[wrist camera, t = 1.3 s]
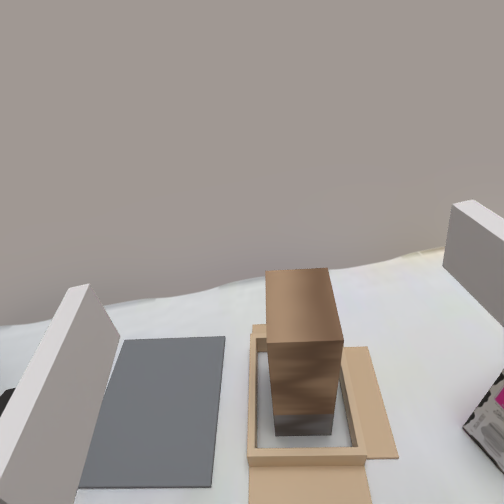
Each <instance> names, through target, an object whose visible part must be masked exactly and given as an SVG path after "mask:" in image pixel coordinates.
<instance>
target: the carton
mask: <svg viewBox="0 0 504 504" xmlns="http://www.w3.org/2000/svg"><path fill="white" fill-rule="evenodd" d="M258 352H267V337H266V324H258V325H253V330H252V334H250V367H249V403H248V439H247V459H248V463H249V504H372V500H371V496H370V491H369V486H368V481H367V477H366V472H365V467H364V465H365V461H366V459H398V458H399V456H398V452H397V449H396V445H395V442H394V438H393V435H392V431H391V428H390V424H389V421H388V417H387V414H386V410H385V407H384V403H383V399H382V396H381V392H380V389H379V385H378V382H377V378H376V375H375V371H374V368H373V364H372V361H371V357H370V354H369V350H368V347H344V346H343V351H342V358H341V366H340V373H339V379H340V384H341V389H342V395H343V400H344V405H345V410H346V415H347V420H348V426H349V431H350V436H351V441H352V446H353V447H323V448H257V366H258Z"/></svg>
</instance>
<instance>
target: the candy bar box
mask: <svg viewBox="0 0 504 504" xmlns="http://www.w3.org/2000/svg"><path fill="white" fill-rule="evenodd" d="M463 428H464V429H465V431H466V432H467V433H468V434H469V435H470V436H471V437H472V438H473V440H474V441H475V442H476V443H477V444H478V445H479V446H480V447H481V448H482V449H483V450H484V451H485V453H486V454H487V455H488V456H489V457H490V458H491V459H492V461H493V462H494V463H495V464H496V465H497V467H498V468H499V469H500V470H501V471H502V472H503V473H504V369H503V371H502V373H501V374H500V376H499V377H498V378H497V380H496V381H495V382H494V384H493V385H492V386H491V388H490V390H489V391H488V392H487V394H486V395H485V396H484V398H483V399H482V401H481V402H480V403H479V405H478V406H477V407H476V409H475V410H474V412H473V413H472V415H471V416H470V417H469V419H468V420H467V422H466V423H465V424H464V425H463Z"/></svg>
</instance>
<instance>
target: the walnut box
mask: <svg viewBox="0 0 504 504" xmlns="http://www.w3.org/2000/svg"><path fill="white" fill-rule="evenodd" d="M266 337H267V352H268V363H269V373H270V383H271V394H272V404H273V415H274V425H275V435H276V436H312V435H331V432H332V425H333V417H334V410H335V402H336V395H337V388H338V380H339V373H340V366H341V358H342V351H343V343H344V338H343V334H342V329H341V325H340V321H339V316H338V312H337V307H336V303H335V298H334V294H333V290H332V285H331V281H330V276H329V272H328V268H315V269H295V270H278V271H277V270H276V271H266Z"/></svg>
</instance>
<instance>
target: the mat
mask: <svg viewBox="0 0 504 504" xmlns="http://www.w3.org/2000/svg"><path fill="white" fill-rule="evenodd" d="M224 347H225V336H217V337H190V338H163V339H136V340H124V343H123V346H122V348H121V351H120V354H119V357H118V359H117V362H116V365H115V367H114V370H113V373H112V376H111V378H110V381H109V384H108V387H107V389H106V392H105V395H104V397H103V400H102V403H101V407H100V411H99V414H98V418H97V421H96V425H95V428H94V432H93V436H92V439H91V443H90V446H89V450H88V453H87V457H86V461H85V464H84V468H83V471H82V475H81V478H80V482H79V486H78V488H195V487H211V483H212V472H213V462H214V451H215V441H216V430H217V420H218V410H219V399H220V389H221V378H222V368H223V357H224Z"/></svg>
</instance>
